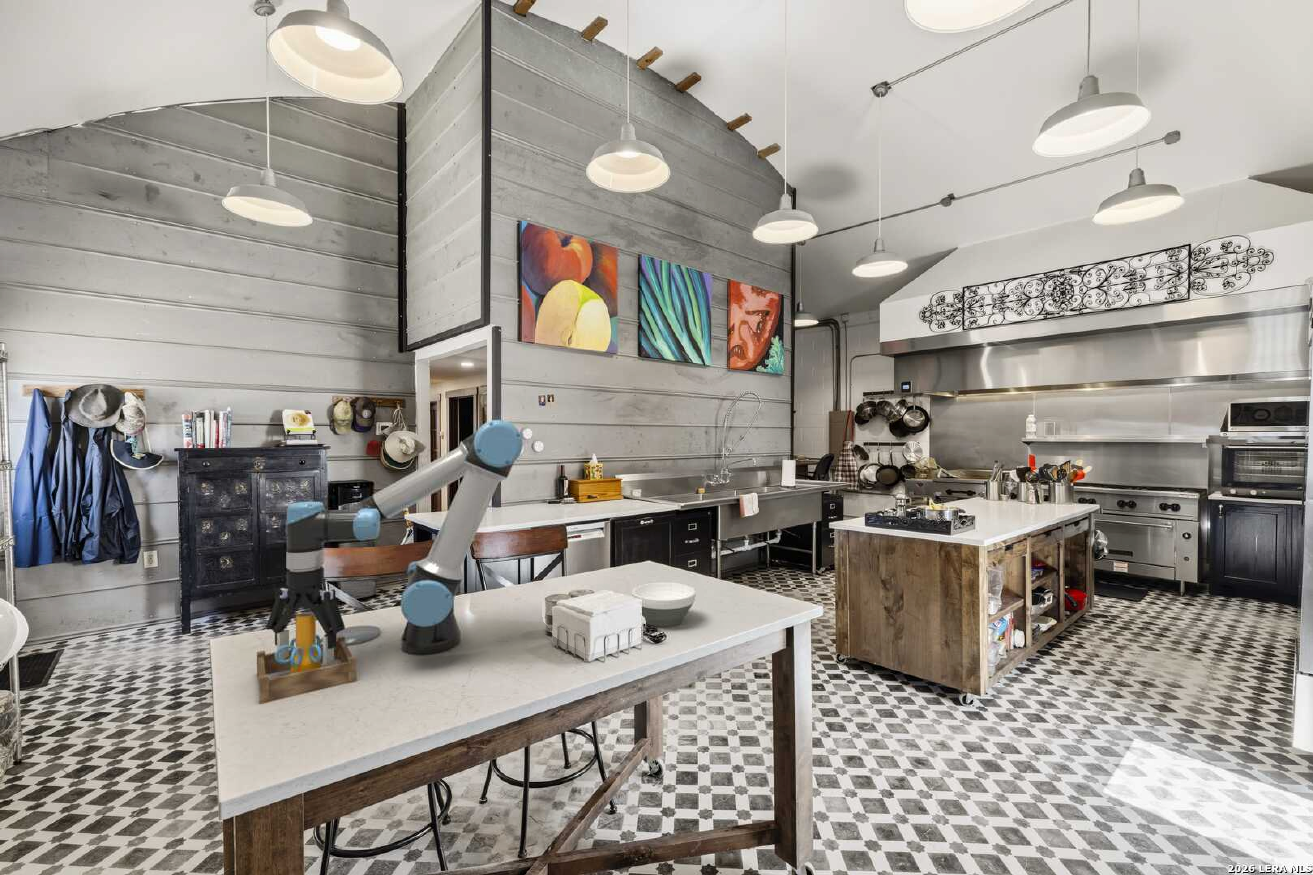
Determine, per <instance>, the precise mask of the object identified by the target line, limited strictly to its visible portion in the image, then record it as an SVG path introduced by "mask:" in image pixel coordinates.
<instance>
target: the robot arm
mask: <svg viewBox="0 0 1313 875" xmlns="http://www.w3.org/2000/svg"><path fill="white" fill-rule="evenodd" d="M522 450H523V438H522V435H521V432H520V431H519V429H518V428H517V427H516V426H515V425H514V424H512V423H510V422H509V421H505V420H502V419H493V420H489V421H487V422H485V423H483V424H482V425H481V426H480V427H479V429H477V431H476V432H474V433H473V434H471V435H470V436H468V437H466V439H465V438H464V439H463V440H461V441H460V443H459V446H458V447H456V448H455V449H453V450H451V451H449V452H447V453H446V454H444V455H442V456H440V457H438V458H437V459H435V460H433V461H431V462H430V463H427V464H426V465H424V466H422V467H420V468H419V469H417V470H414V471H413V472H411V473H409V474H408V475H406V476H404V477H403V478H401V479H399V480H397V481H396V482H393V483H392V484H390V485H388V486H387V487H385V488H383V489H381V490H380V491H377V492H375V493H374V494H372V495H371V496H368V497H367V498H365V499H363V500H362V501H359V502H357V503H355V504H353V505H352V506H350V507H349V508H348V509H334V510H333V509H326V508H325V504H324V503H323V502H322V501H301V502H300V501H298V502H294V503H291V504H289V505H288V507H287V509H286V522H285V529H286V530H285V531H286V533H285V534H286V559H285V560H286V562H285V563H286V564H285V565H286V566H285V567H286V569H287V571H286V574H285V575H286V576H285V578H286V583H285V584H286V587H281V588H279V589H277V590H275V591H274V592H275V596H274V597H275V598H274V599H275V600H274V602H273V605H272V609H271V612H270V614H269V618H268V620H267V623H266V627H265V628H266V630H271V631H273V633H274V645H275V646H276V651H277V650H278V648H280V647H281V646H284V645H290V629H288V625H289V624H290V622H291V620H292V619H293V618H294V616H295V614H296V612H297V611H298V610H299V609H302V608H303V609H305V610H306V609H307V610H309V612H313V613H314V615H315V616H316V621H318V623H319V624H320V627H321V628H322V629H323V631H324V633H325V635H323V636H322V638H323V642H322V643H323V662H322V664H323V665H327V664H329V663H330V662H332V661H335V660H334V647H336V634H337V633H338V632H340V631H342V630H344V629H345V628H346V627H345V623H344V620H343V617H342V613H341V611H340V609H339V605H338V602H337V597H336V590H335V589H330V590H324V587H323V583H324V580H325V568H324V567H323V565H324V563H325V562H324V561H325V558H324V557H325V556H324V555H325V554H324V553H325V549H324V548H325V546H324V544H325V543H331V542H343V541H344V542H347V541H348V542H350V541H361V542H363V541H368V540H375V539H377V538H378V537H379V535H380V531H381V524H382V523H384V522H385V521H387V520H389V519H391V518H392V517H393V516H396V515H397V514H399V513H401V512H403V511H404V510H406V509H408V508H410V507H412V506H413V505H415V504H416V503H418V502H420V501H423V499H425V498H427V497H429V496H431V495H433V494H434V493H437V492H438V491H439V490H441V489H443V488H445V487H447V486H449V485H450V484H452V483H454V482H455V481H457V480H459V479H461V478H462V480H461V482H460V484H459V487H458V488H457V491H456V493H455V495H454V497H453V500H452V502H451V504H450V506H449V508H448V511H447V512H446V515H445V517H444V520H443V522H442V523H441V526H440V528H439V530H438V533H437V535H436V536H435V539H434V542H433V543H432V546H431V548H430V551H429V553H428V555H427V557H425V558H422V559H420V560H414V561H412V562H410V563H409V564H408V565H407V566H408V568H407V569H408V570H407V572H406V573H407V585H406V587H405V590H404V591H403V593H402V595H401V597H400V609H401V613H402V615H403V617H404V618H405V620H406V621H407V622H406V624H405V627H404V630H403V633H402V636H401V642H400V648H401V650H402V652H405V653H407V654H413V655H428V654H435V653H440V652H444V651H447V650H449V649H452V648H454V647H456V646H457V645H459V644H460V643H461V638H462V637H461V634H462V633H461V630H460V626H459V625H458V624H459V623H458V620H457V618H456V615H455V609H454V607H455V606H454V605H455V604H454V603H455V602H454V601H455V597H456V594H457V592H458V589H459V587H460V585H461V582H462V580H463V579H464V575H463V573H462V570H461V568H462V565H463V563H464V562H465V559H466V556H467V554H468V552H469V550H470V548H471V545H472V543H473V541H474V539H475V537H476V534H477V532H478V529H479V527H480V525H481V523H482V521H483V518H484V516H485V514H486V512H487V510H488V508H489V505H490V503H491V501H492V498H493V496H494V494H495V492H496V489H497V487H498V485H499V483H500V482H502V481H504V480H507V479H508V477H509V475H510V472H511V470H512V468H513V466H514V464H515V461H516V460H518V458H519V457H520V456H521V453H522ZM288 598H289V599H290V600H289V601H288ZM287 602H288V603H287ZM289 650H290V649H289V648H285V649H283V650H281V651H280V653H279V658H280V659H281V660H283V659H285V658H288V657H289Z"/></svg>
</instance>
